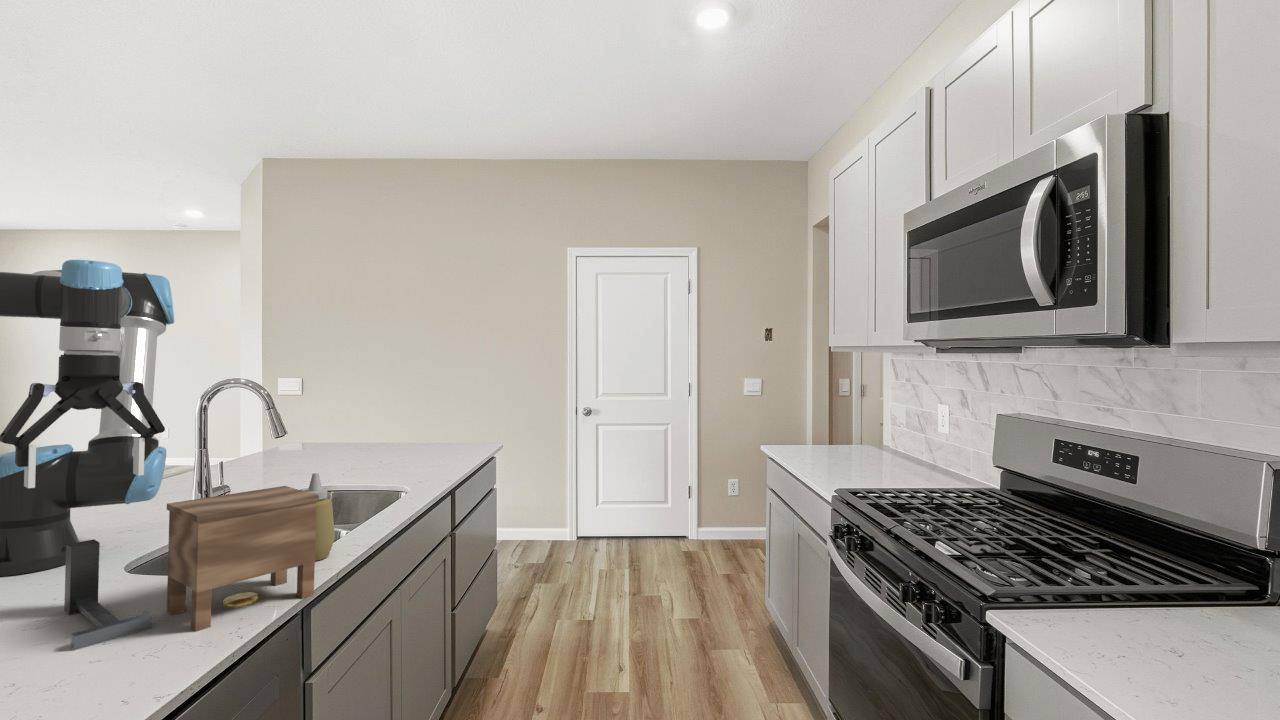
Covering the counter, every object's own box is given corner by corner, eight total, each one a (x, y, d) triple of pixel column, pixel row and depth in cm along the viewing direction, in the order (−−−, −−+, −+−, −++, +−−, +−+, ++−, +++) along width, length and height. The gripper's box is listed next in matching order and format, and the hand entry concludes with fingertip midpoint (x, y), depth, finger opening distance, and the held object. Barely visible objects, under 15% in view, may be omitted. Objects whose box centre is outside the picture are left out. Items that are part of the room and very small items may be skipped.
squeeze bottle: (315, 565, 121) (318, 478, 121) (282, 562, 123) (284, 476, 123) (343, 553, 129) (345, 471, 129) (311, 550, 130) (313, 469, 131)
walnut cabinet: (163, 611, 98) (166, 503, 98) (282, 579, 113) (285, 485, 113) (194, 632, 91) (197, 516, 91) (316, 594, 106) (318, 495, 106)
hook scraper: (41, 616, 95) (42, 548, 95) (113, 598, 103) (115, 535, 103) (73, 650, 85) (76, 574, 85) (151, 627, 92) (153, 557, 92)
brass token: (218, 604, 102) (218, 599, 102) (250, 595, 106) (250, 590, 106) (230, 612, 99) (230, 606, 99) (262, 602, 103) (263, 596, 103)
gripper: (-16, 351, 86) (-20, 496, 86) (188, 355, 107) (185, 472, 107) (-26, 351, 90) (-30, 489, 90) (172, 355, 111) (169, 467, 111)
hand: (87, 480), depth 98 cm, fingers open, 13 cm apart
